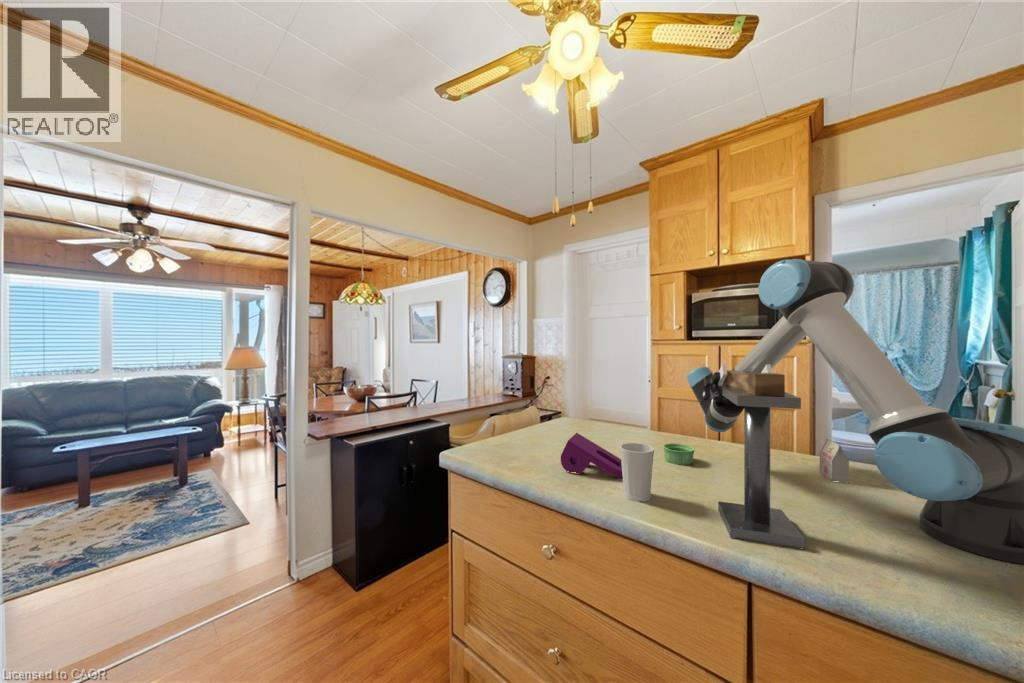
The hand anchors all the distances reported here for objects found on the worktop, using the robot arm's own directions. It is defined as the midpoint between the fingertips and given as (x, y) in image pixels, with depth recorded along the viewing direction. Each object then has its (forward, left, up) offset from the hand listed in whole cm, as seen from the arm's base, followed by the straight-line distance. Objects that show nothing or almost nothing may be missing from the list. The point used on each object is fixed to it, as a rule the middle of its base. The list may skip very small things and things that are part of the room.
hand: (746, 369), depth 81 cm
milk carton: (-2, -41, -32) cm, 52 cm away
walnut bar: (-1, +3, -4) cm, 5 cm away
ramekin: (+29, -17, -32) cm, 47 cm away
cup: (+18, +15, -32) cm, 40 cm away
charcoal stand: (-5, +6, -32) cm, 33 cm away
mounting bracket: (+36, +12, -32) cm, 50 cm away
